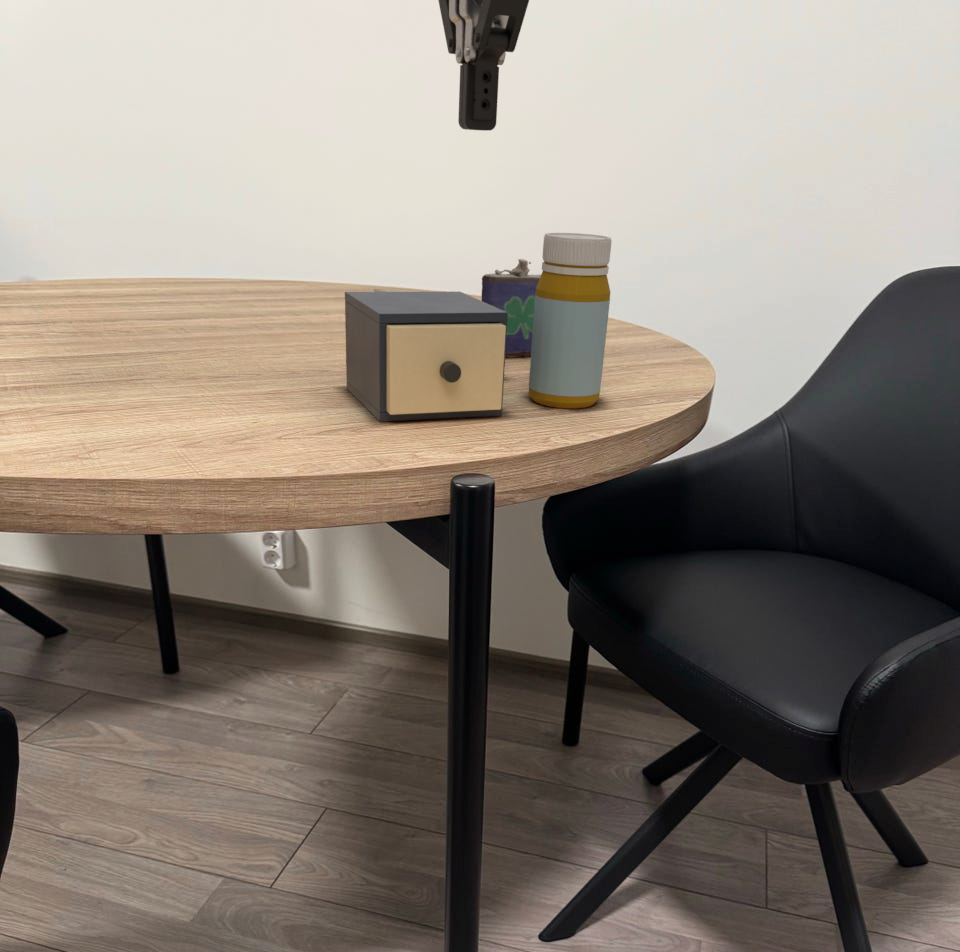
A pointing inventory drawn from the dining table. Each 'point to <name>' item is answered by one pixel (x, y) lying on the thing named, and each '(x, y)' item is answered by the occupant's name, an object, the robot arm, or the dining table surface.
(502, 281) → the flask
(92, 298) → the dining table surface
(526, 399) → the dining table surface
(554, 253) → the bottle
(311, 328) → the dining table surface
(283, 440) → the dining table surface
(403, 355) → the drawer
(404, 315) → the cabinet
